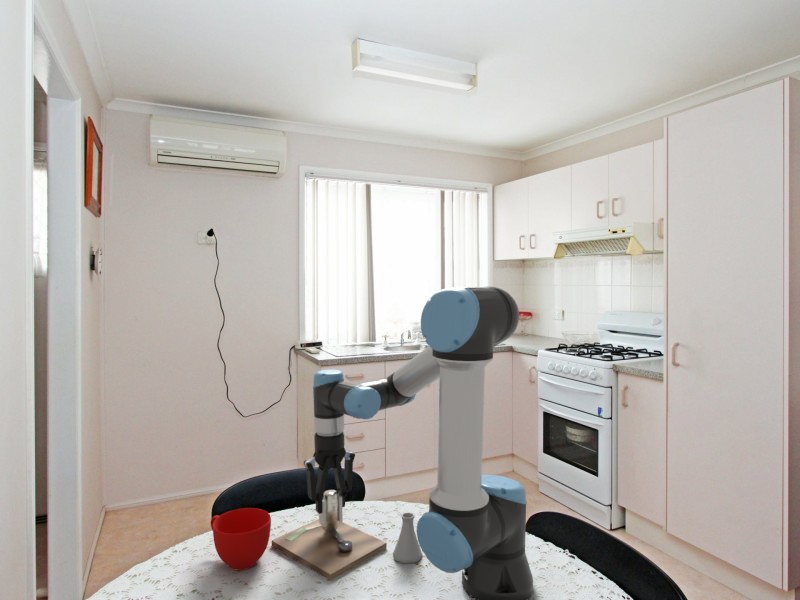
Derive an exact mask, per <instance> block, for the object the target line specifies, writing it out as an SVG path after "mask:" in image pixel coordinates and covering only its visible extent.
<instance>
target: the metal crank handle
mask: <svg viewBox="0 0 800 600" xmlns="http://www.w3.org/2000/svg"><path fill="white" fill-rule="evenodd" d="M338 494H339V492H338V490H335V489H328V490H324V496H323V499H324V500H325V501H326V527H324V529H325V530H327V531H329V532H330V533H331V535H332V536H333V537H334V538H335V540H336V541H337V542H338V544H339V551H340V552H350V551H351V550H352V542H351V541H344V540H343V538H342V537H341V536H340V535H339V533H338V532H337V531H336V529H337V528H338Z"/></svg>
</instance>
